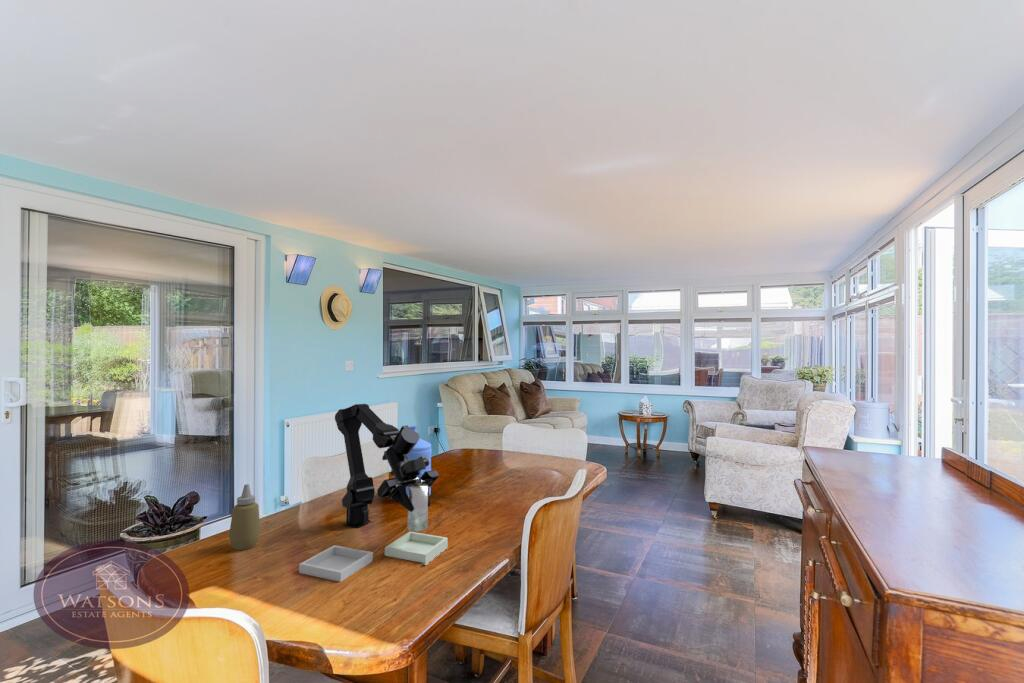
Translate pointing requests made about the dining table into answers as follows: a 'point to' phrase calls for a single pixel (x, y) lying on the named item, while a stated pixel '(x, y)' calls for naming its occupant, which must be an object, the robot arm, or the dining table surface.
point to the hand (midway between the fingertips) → (420, 508)
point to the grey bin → (336, 563)
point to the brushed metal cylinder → (418, 507)
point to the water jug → (418, 451)
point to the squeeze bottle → (245, 521)
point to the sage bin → (417, 547)
